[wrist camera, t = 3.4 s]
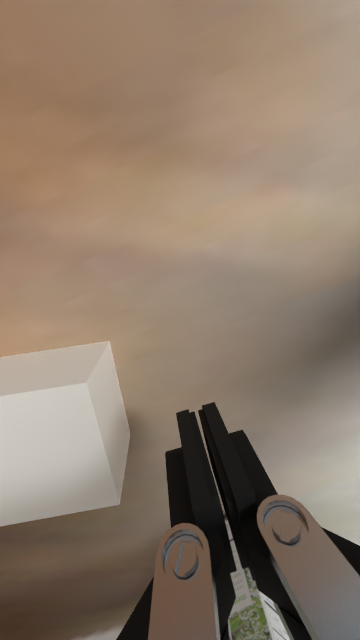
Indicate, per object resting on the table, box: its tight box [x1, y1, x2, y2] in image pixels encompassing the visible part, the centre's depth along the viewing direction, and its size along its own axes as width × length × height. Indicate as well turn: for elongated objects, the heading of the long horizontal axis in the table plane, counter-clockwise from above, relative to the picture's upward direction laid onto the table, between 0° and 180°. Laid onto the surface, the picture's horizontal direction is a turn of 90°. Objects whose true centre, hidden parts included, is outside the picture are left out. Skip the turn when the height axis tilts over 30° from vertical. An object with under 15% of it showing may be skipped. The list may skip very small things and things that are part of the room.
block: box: [0, 341, 131, 527], centre depth 13 cm, size 10×7×5 cm
